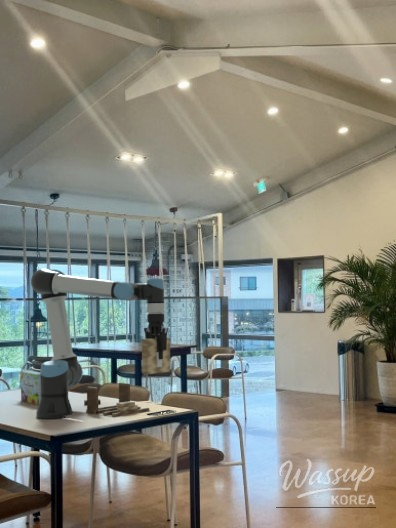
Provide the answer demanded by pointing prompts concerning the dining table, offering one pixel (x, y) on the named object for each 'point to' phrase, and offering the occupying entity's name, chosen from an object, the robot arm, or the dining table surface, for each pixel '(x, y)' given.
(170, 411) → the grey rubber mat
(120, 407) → the offcut stack
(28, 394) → the snack box
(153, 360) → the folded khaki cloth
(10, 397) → the dining table surface
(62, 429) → the dining table surface
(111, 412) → the rack
